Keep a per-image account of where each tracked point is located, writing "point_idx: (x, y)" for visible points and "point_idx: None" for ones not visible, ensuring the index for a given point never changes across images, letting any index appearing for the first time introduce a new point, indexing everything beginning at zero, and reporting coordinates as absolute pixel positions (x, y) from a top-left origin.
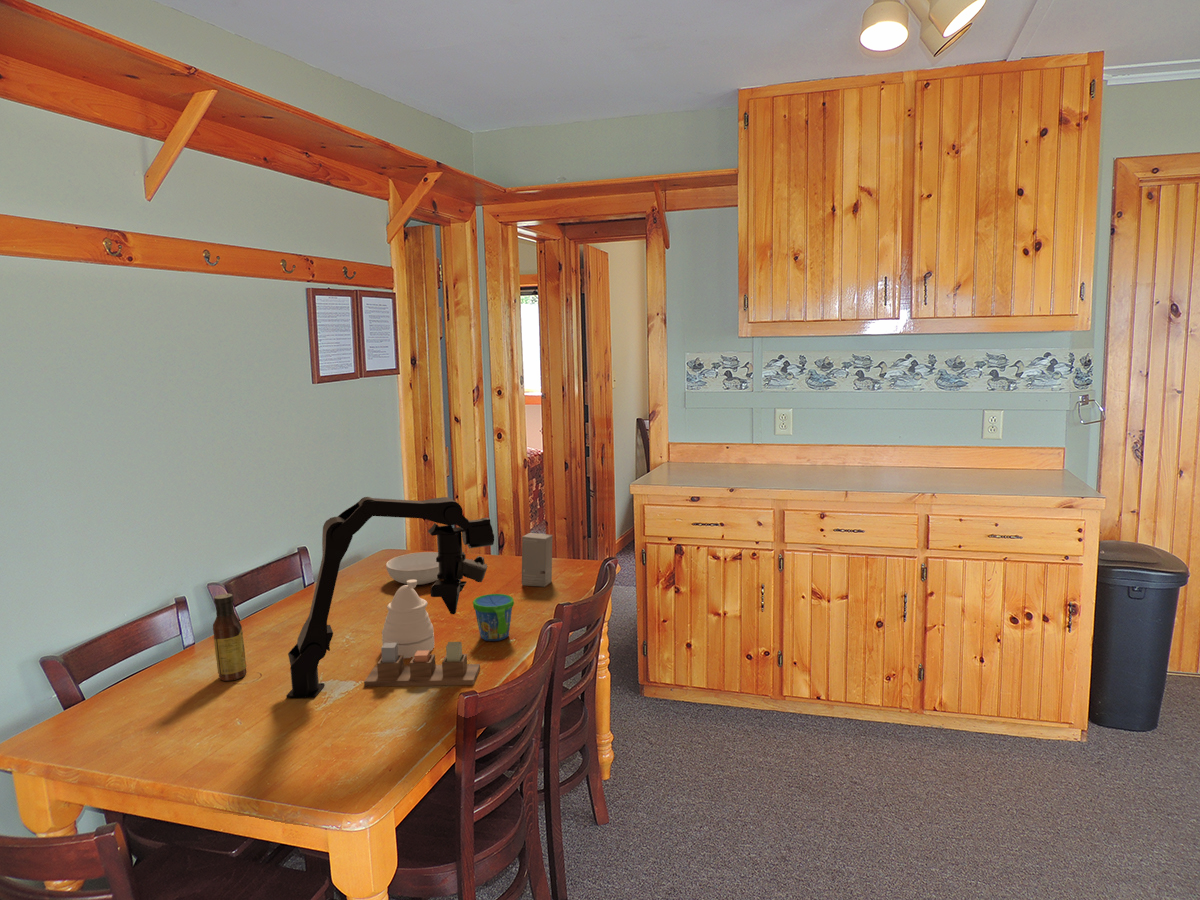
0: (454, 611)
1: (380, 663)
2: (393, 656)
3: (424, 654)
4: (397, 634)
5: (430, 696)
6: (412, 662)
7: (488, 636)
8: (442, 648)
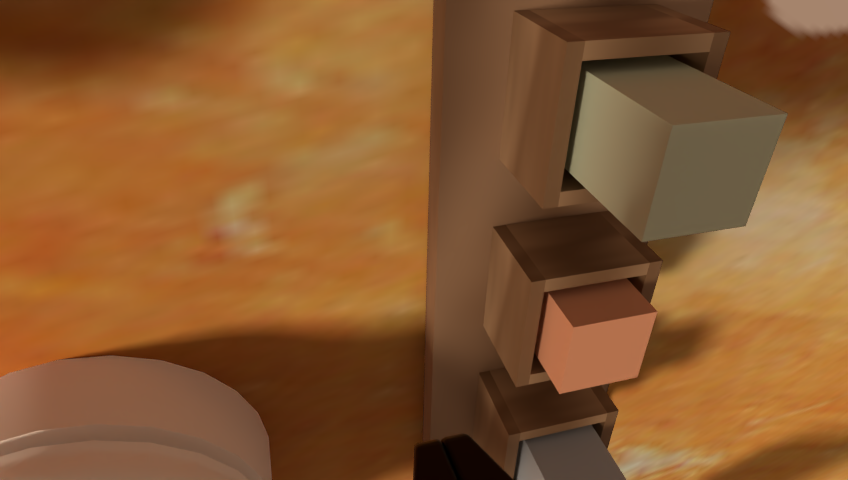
0: (496, 472)
1: None
2: (608, 459)
3: (635, 331)
4: None
5: None
6: None
7: None
8: (49, 309)
